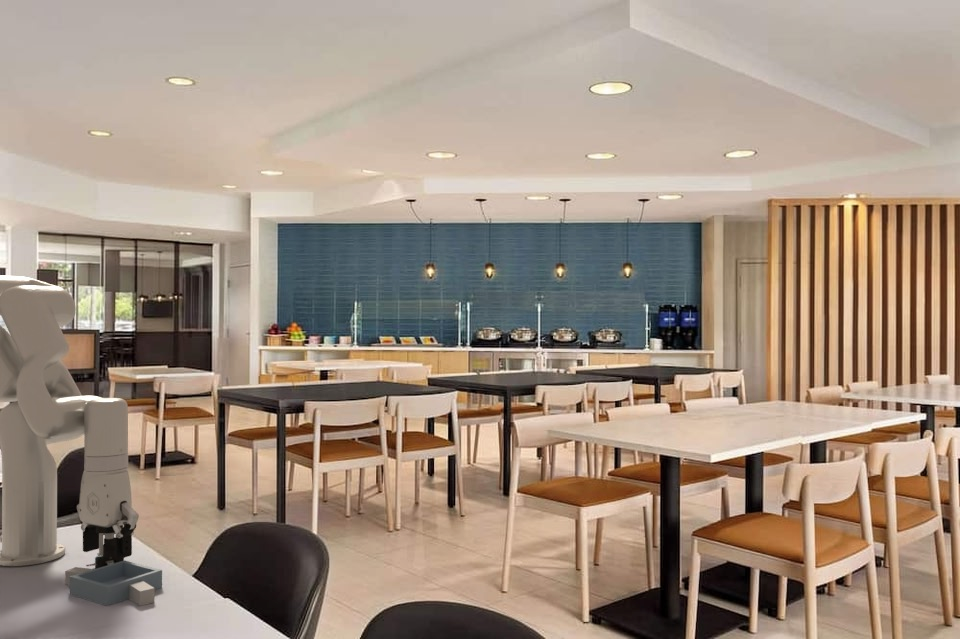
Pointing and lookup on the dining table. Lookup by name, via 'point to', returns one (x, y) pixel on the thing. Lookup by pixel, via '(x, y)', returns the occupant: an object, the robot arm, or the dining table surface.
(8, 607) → the dining table surface
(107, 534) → the push button
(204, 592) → the dining table surface
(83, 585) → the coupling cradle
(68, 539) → the dining table surface
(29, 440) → the robot arm
